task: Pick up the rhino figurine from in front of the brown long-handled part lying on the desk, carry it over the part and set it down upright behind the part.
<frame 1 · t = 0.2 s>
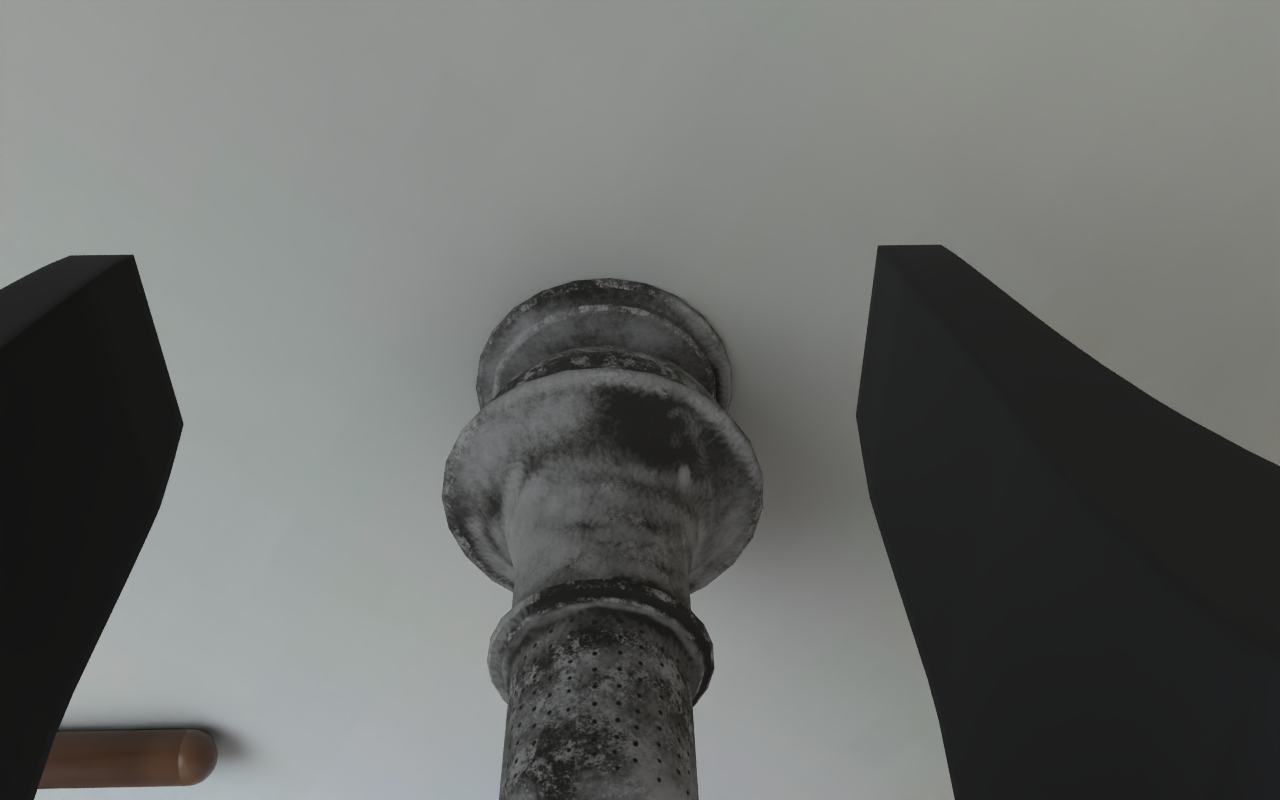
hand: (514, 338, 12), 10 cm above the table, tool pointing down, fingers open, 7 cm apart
grey weathered turned ornament: (604, 383, 24), on the table
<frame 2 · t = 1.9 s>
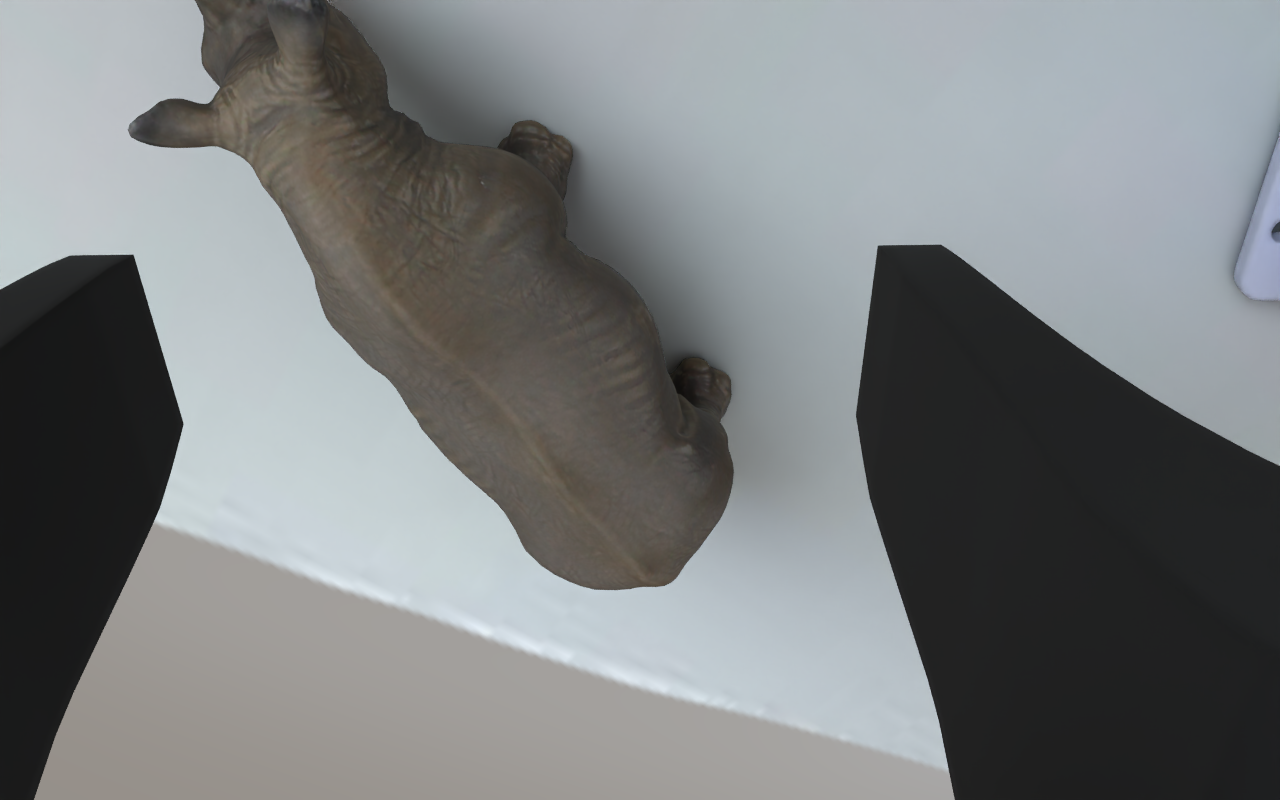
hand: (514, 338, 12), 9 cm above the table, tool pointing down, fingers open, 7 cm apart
rhino figurine: (479, 173, 21), on the table
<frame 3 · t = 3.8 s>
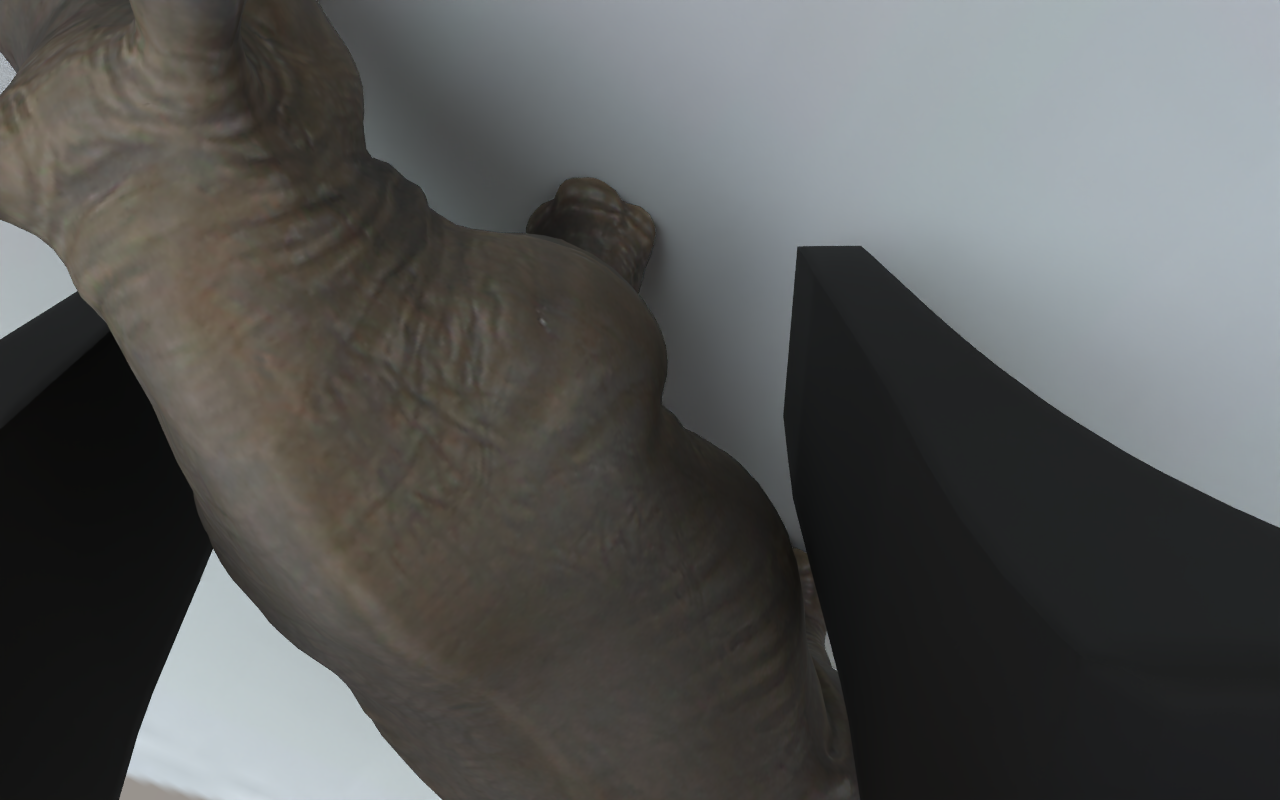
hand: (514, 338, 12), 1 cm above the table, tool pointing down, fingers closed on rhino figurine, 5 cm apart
rhino figurine: (493, 251, 13), on the table, touching gripper
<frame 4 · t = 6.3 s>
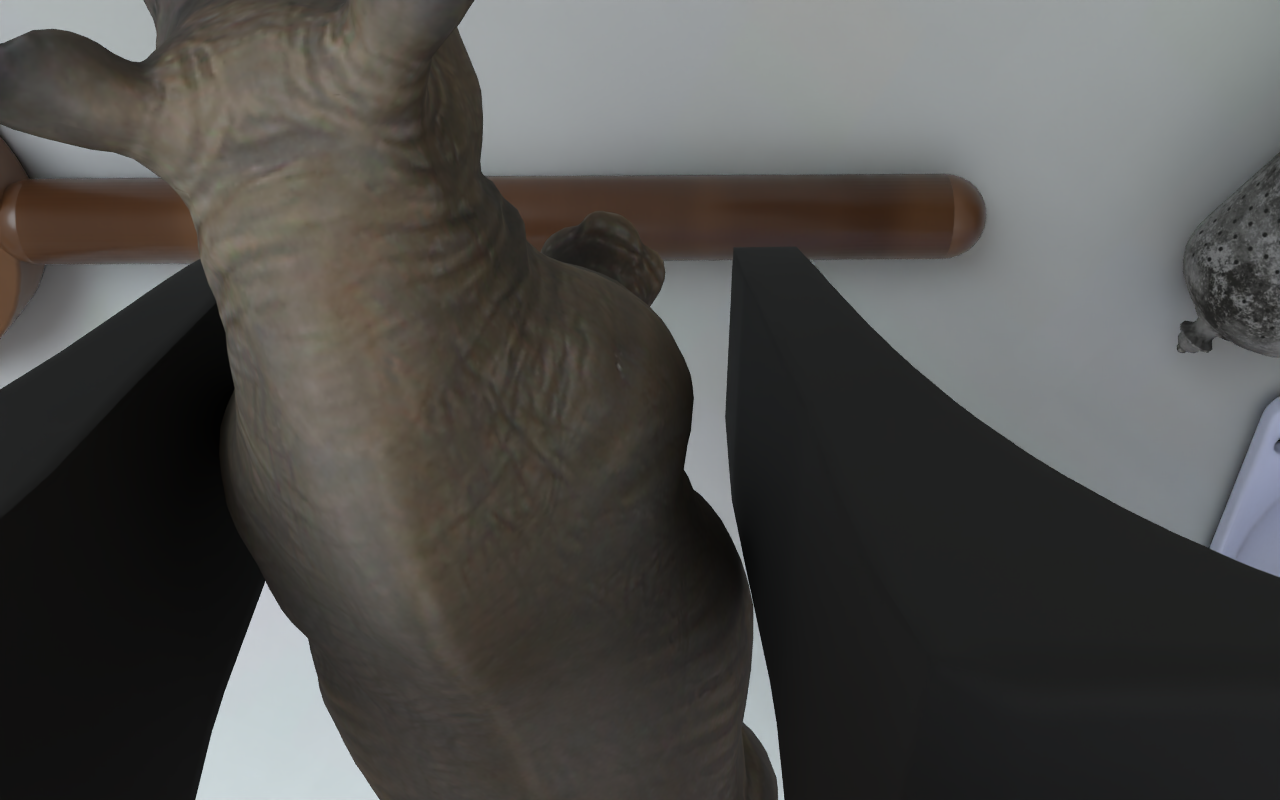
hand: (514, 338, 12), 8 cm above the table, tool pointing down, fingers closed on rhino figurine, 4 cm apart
rhino figurine: (499, 259, 13), point 7 cm above the table, touching gripper
brown long-handled part: (289, 201, 20), on the table
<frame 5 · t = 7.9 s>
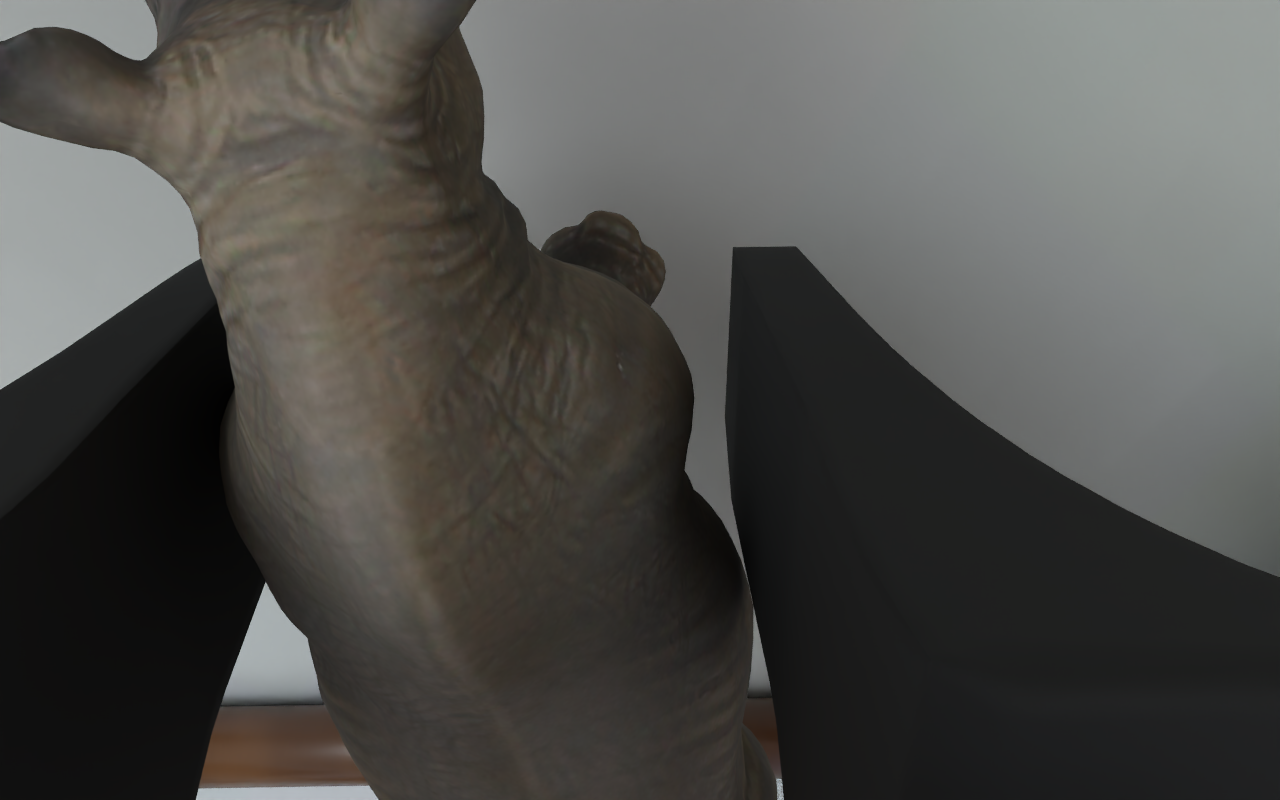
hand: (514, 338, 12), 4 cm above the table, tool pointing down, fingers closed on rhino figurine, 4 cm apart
rhino figurine: (499, 259, 13), point 3 cm above the table, touching gripper
brown long-handled part: (300, 714, 22), on the table
when the fingers open (2 cm above the table, at t = 9.1 s): rhino figurine stays where it is, on the table.
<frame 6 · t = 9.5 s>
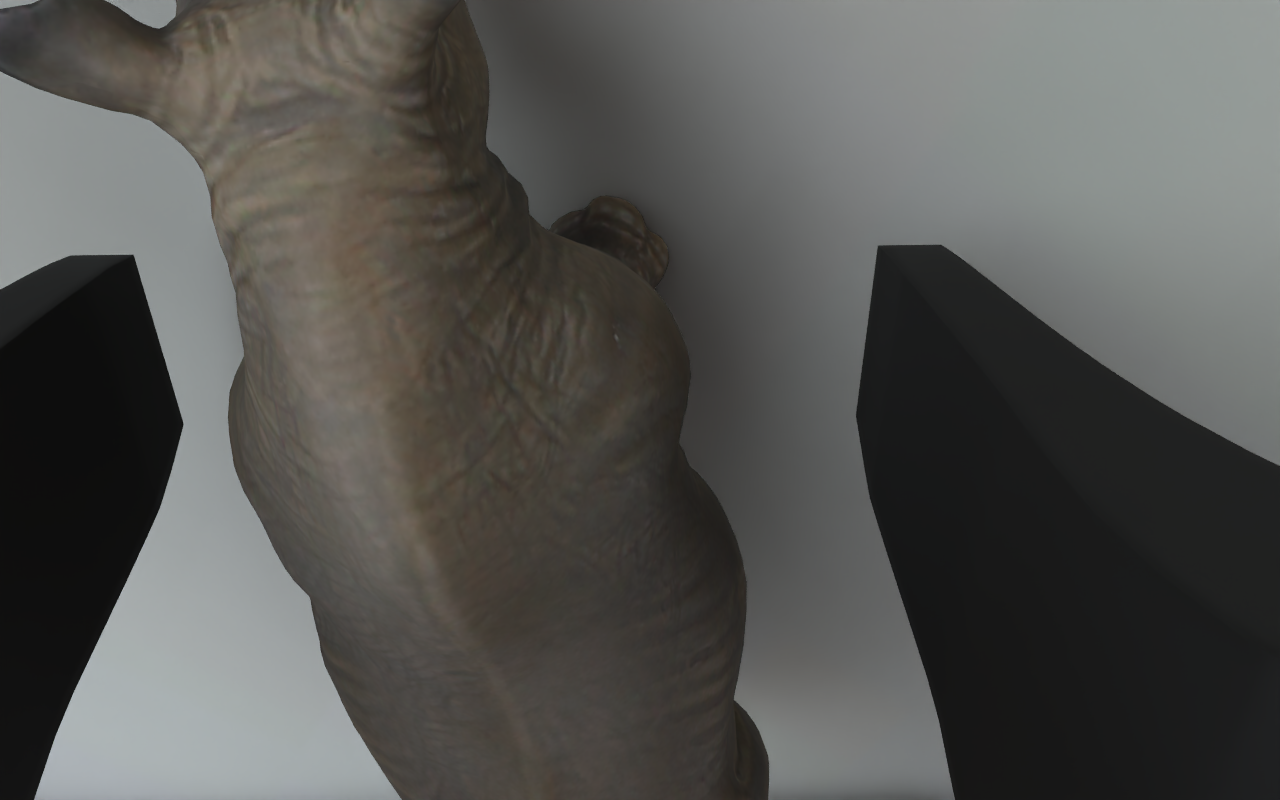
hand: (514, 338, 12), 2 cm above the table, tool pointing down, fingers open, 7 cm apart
rhino figurine: (507, 243, 13), on the table
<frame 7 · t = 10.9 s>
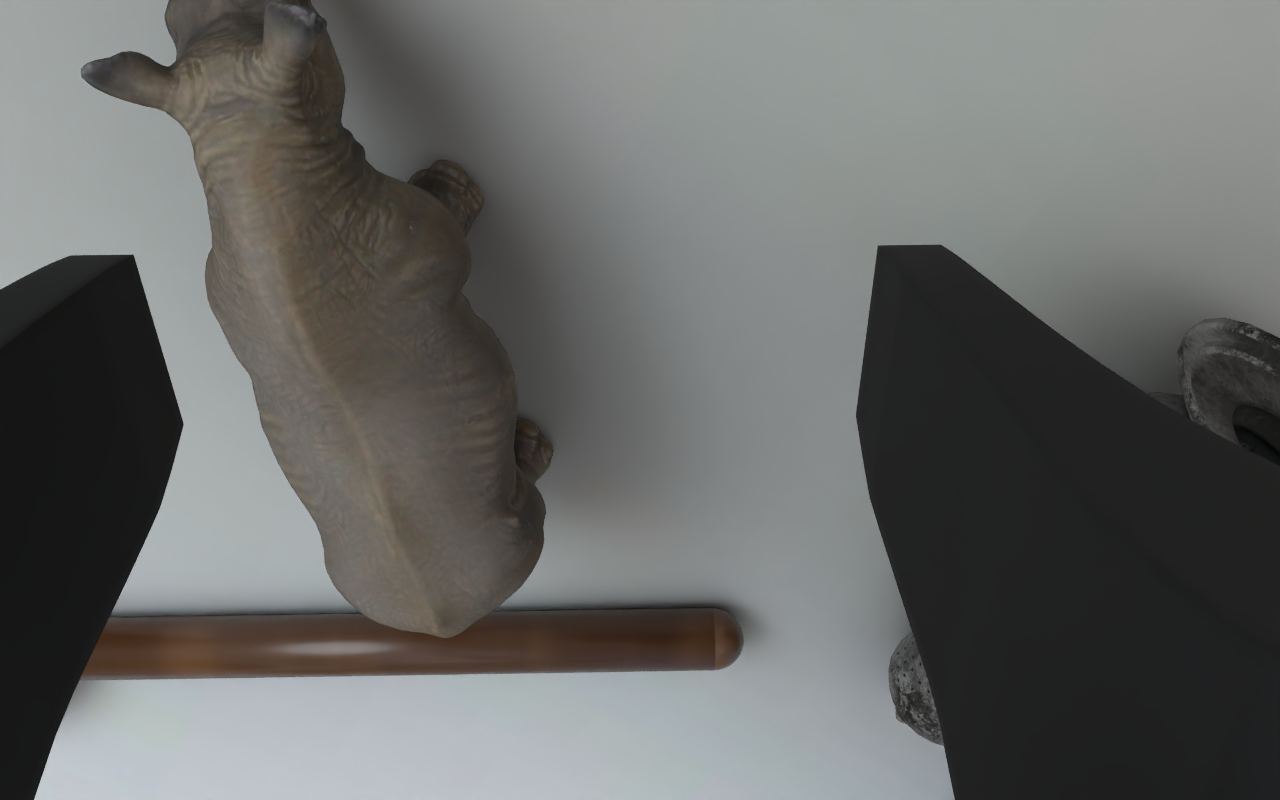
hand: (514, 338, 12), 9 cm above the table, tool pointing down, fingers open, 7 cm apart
rhino figurine: (384, 191, 21), on the table
brown long-handled part: (241, 623, 27), on the table
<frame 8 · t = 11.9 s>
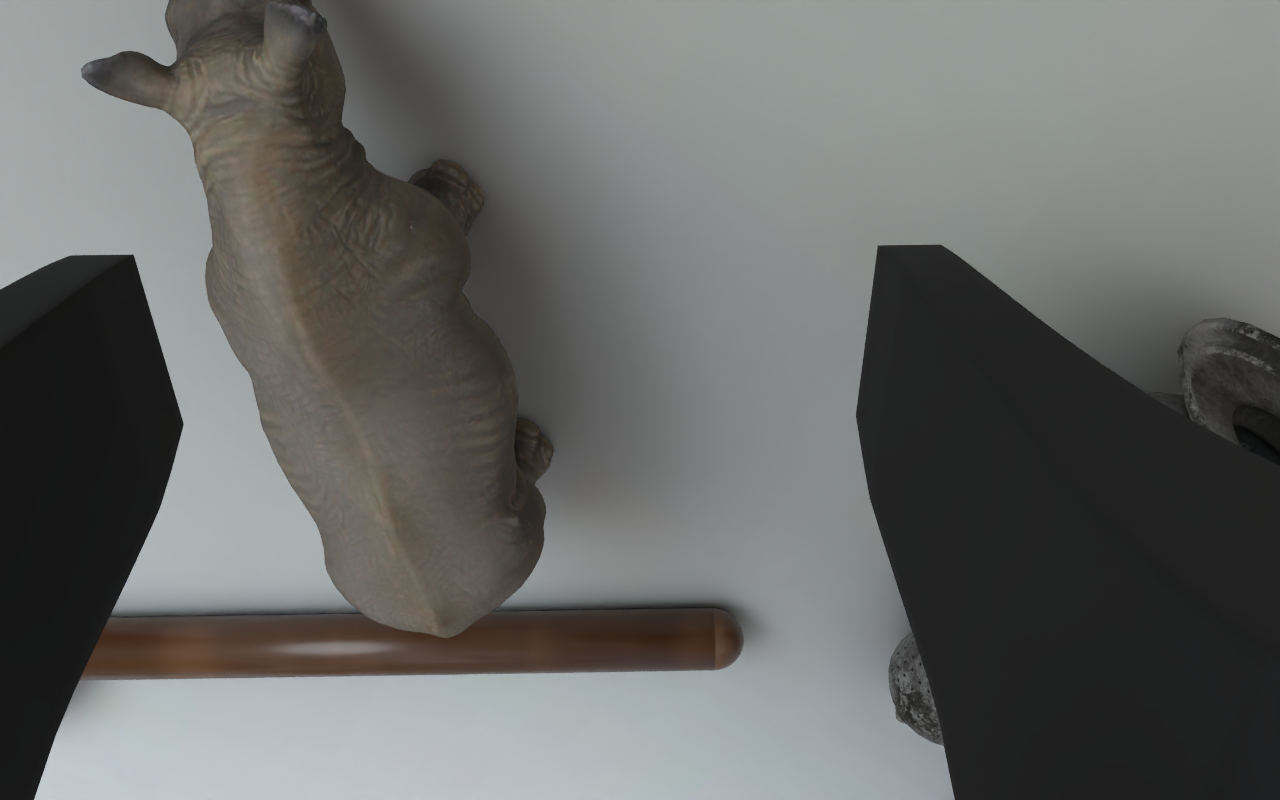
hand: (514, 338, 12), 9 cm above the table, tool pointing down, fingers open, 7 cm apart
rhino figurine: (385, 190, 21), on the table
brown long-handled part: (241, 623, 27), on the table
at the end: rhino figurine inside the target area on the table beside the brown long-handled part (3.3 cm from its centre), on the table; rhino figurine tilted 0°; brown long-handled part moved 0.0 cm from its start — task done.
